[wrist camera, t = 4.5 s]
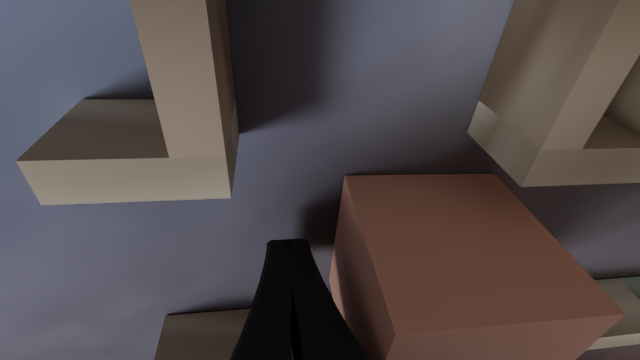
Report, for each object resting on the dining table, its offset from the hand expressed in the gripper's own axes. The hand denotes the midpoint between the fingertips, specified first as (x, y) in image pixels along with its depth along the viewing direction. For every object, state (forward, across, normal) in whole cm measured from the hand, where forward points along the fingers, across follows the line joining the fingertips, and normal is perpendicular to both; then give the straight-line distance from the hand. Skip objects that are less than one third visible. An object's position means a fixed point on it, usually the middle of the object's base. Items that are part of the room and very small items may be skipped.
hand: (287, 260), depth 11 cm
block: (+1, -4, 0) cm, 4 cm away
